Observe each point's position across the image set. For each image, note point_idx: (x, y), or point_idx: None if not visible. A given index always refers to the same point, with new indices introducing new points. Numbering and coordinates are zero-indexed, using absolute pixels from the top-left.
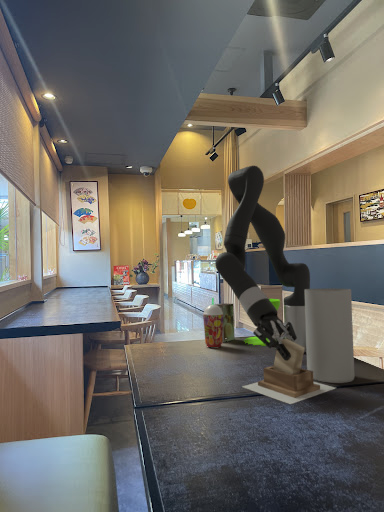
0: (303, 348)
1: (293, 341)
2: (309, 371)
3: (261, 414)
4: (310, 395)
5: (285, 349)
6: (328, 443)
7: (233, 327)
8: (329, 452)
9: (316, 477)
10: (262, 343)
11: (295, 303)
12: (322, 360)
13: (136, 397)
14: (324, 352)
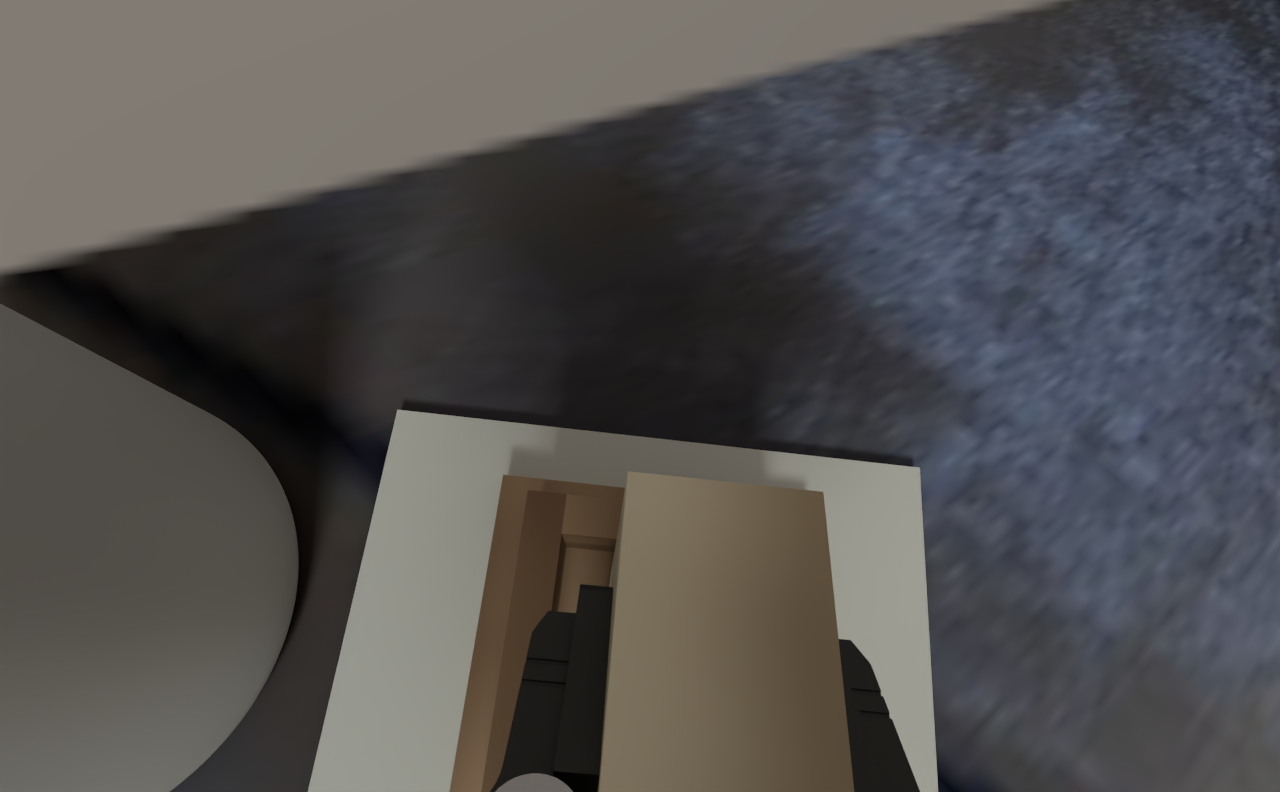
0: (656, 476)
1: (529, 775)
2: (559, 511)
3: (1149, 517)
4: (684, 459)
5: (851, 695)
6: (1088, 147)
7: None
8: (1138, 120)
9: None
10: None
11: None
12: (193, 536)
13: None
14: (120, 493)
